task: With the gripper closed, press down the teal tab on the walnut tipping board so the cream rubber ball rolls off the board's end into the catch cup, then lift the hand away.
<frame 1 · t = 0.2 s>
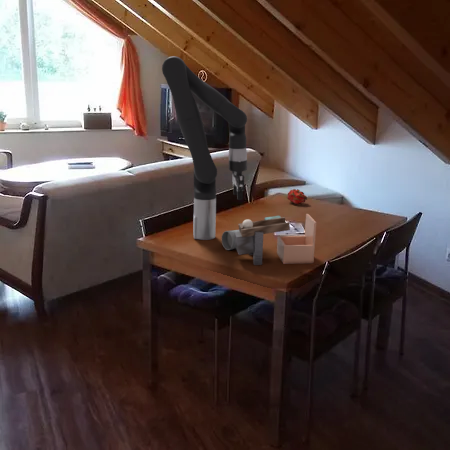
hand: (238, 197, 231), 18 cm above the table, tool pointing down, fingers open, 8 cm apart
catch cup: (294, 258, 213), on the table
dragon fruit: (296, 203, 294), on the table
lever board: (260, 232, 212), point 9 cm above the table, hinge at -8.0°, touching ball
pivot stand: (255, 258, 211), on the table
ceramic mug: (231, 247, 224), on the table
ball: (247, 224, 207), point 14 cm above the table, tilted 15°, touching lever board
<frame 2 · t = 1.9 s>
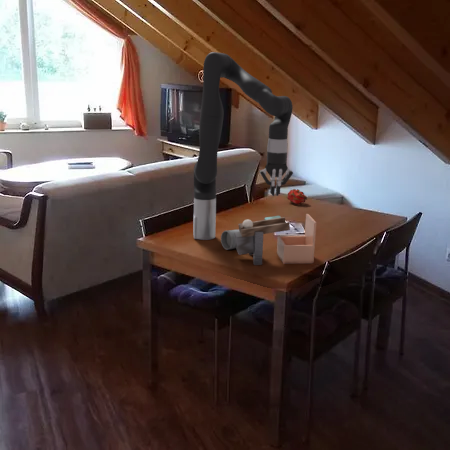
hand: (275, 195, 213), 23 cm above the table, tool pointing down, fingers closed
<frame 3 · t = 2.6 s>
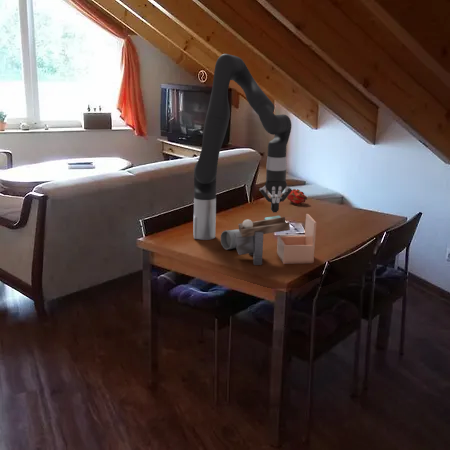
hand: (274, 211, 215), 16 cm above the table, tool pointing down, fingers closed
nothing on the table moved.
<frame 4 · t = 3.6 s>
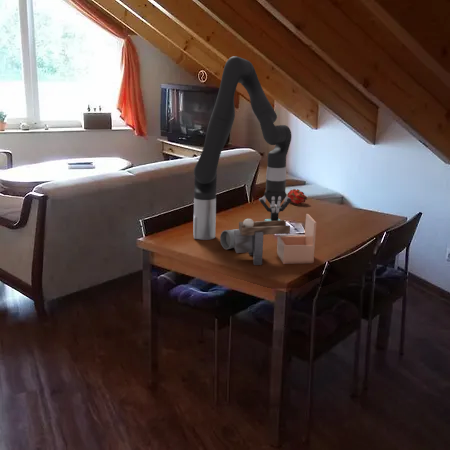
hand: (274, 221, 216), 12 cm above the table, tool pointing down, fingers closed
lever board: (259, 233, 212), point 9 cm above the table, hinge at -1.7°, touching ball, gripper
ball: (248, 223, 207), point 14 cm above the table, tilted 9°, touching lever board
everything else where it was.
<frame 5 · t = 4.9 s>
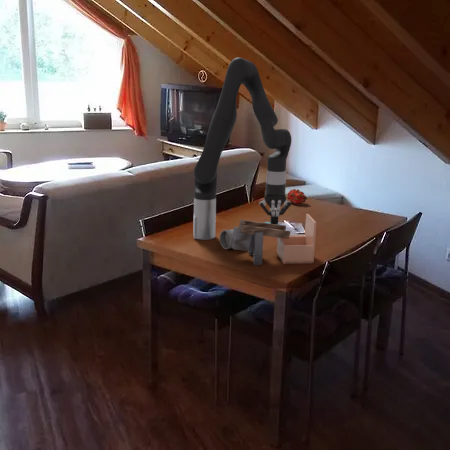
hand: (274, 225, 217), 11 cm above the table, tool pointing down, fingers closed
lever board: (258, 233, 212), point 9 cm above the table, hinge at 8.5°, touching gripper
ball: (288, 251, 212), point 3 cm above the table, tilted 41°, touching catch cup
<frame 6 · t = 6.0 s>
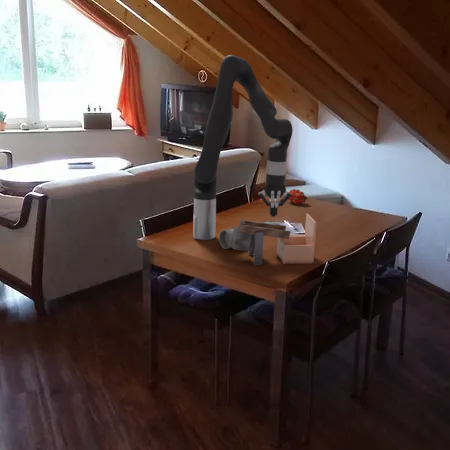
hand: (273, 216, 215), 15 cm above the table, tool pointing down, fingers closed
lever board: (258, 233, 212), point 9 cm above the table, hinge at 8.5°
ball: (291, 251, 212), point 3 cm above the table, tilted 81°, touching catch cup
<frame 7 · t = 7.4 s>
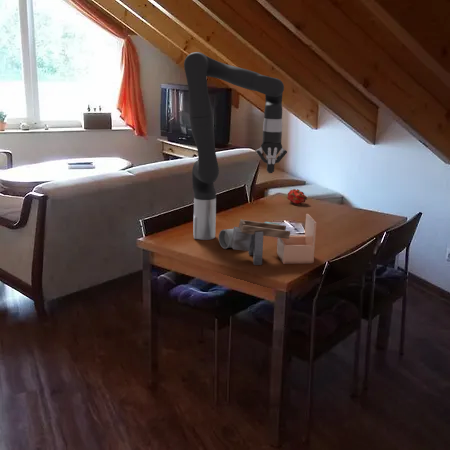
hand: (270, 172, 225), 29 cm above the table, tool pointing down, fingers closed
ball: (296, 251, 212), point 3 cm above the table, tilted 132°, touching catch cup
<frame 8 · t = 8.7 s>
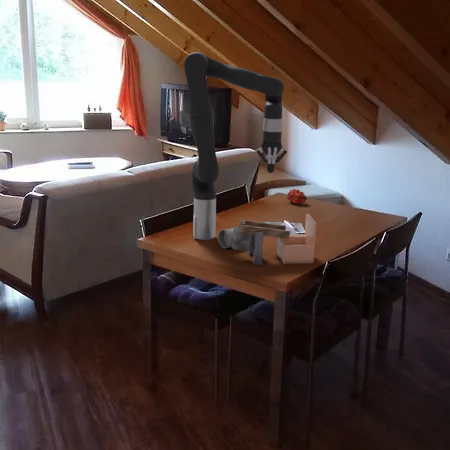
hand: (270, 172, 225), 29 cm above the table, tool pointing down, fingers closed
ball: (300, 251, 212), point 3 cm above the table, tilted 179°, touching catch cup
at the end: ball inside the target area on the catch cup (2.1 cm from its centre), point 2.8 cm above the catch cup's base; ceramic mug moved 2.5 cm from its start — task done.
